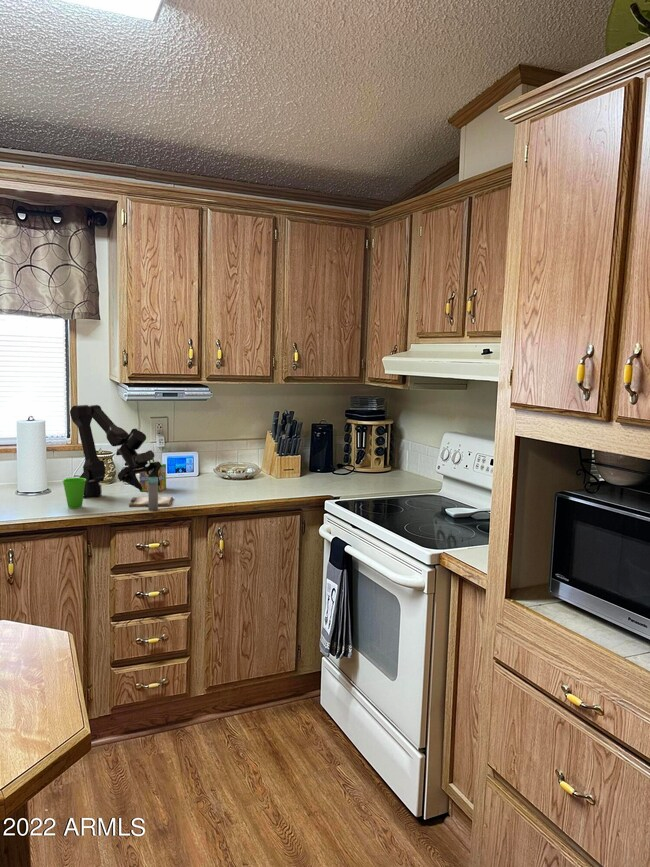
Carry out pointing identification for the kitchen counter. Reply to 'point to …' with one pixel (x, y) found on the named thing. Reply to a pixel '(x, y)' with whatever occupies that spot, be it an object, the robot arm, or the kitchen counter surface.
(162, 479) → the chalk box
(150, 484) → the marker
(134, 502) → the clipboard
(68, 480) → the cup
